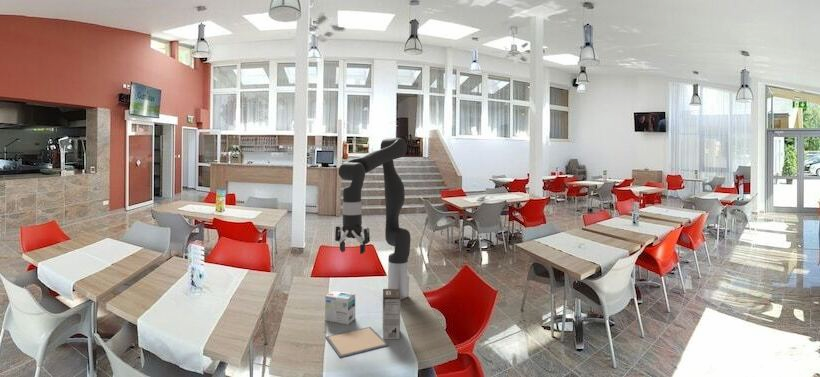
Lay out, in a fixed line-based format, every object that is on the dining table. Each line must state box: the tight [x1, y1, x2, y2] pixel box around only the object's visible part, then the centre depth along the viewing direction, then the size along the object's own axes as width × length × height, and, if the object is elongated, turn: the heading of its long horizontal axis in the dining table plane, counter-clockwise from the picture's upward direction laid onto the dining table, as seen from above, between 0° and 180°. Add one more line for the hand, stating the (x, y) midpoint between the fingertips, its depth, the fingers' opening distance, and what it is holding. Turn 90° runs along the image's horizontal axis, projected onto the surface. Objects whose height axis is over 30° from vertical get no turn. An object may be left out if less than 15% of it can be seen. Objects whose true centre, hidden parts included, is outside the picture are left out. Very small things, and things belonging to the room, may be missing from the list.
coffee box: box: [382, 288, 401, 340], centre depth 148 cm, size 9×6×16 cm
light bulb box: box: [324, 290, 356, 326], centre depth 160 cm, size 11×7×11 cm, turn 71°
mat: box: [325, 326, 389, 359], centre depth 142 cm, size 18×16×1 cm
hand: (352, 252), depth 157 cm, fingers open, 8 cm apart
